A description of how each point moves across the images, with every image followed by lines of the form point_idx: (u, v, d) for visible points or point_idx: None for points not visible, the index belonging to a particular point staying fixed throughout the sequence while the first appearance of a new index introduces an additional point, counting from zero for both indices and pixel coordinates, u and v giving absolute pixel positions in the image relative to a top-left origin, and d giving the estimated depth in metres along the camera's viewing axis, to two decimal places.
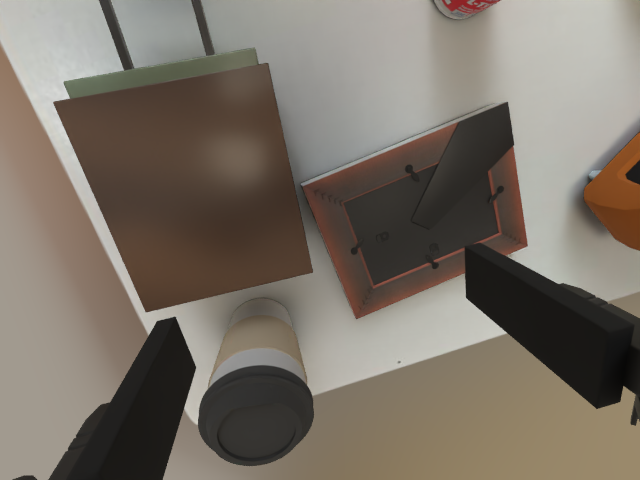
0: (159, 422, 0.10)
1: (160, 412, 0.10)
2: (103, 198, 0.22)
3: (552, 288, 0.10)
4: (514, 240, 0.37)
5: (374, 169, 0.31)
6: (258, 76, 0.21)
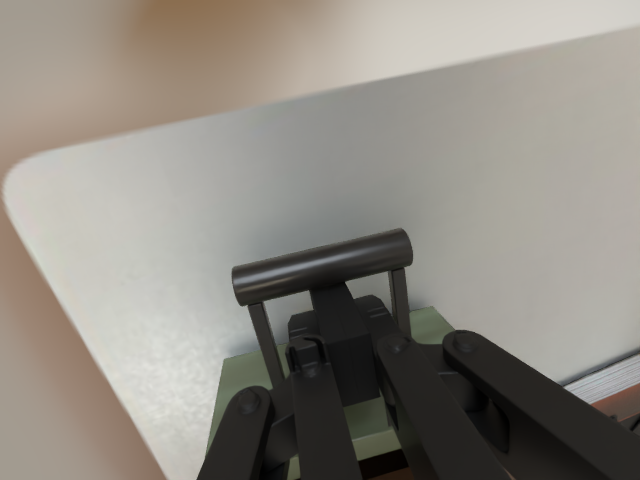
0: None
1: None
2: None
3: (344, 300, 0.12)
4: None
5: None
6: None
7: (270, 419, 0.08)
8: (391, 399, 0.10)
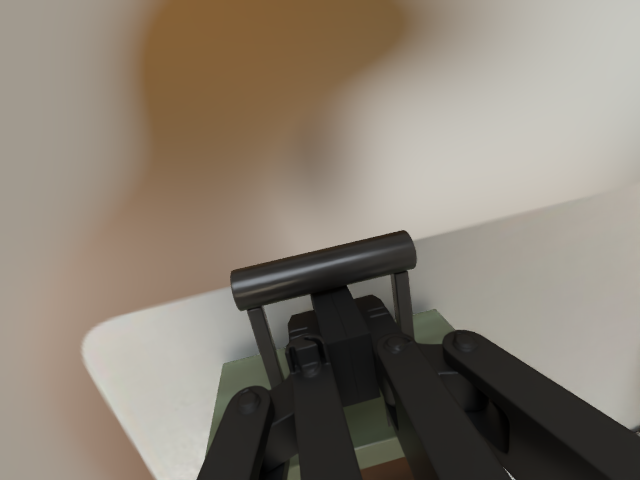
0: None
1: None
2: None
3: (344, 300, 0.12)
4: None
5: None
6: None
7: (270, 419, 0.08)
8: (391, 399, 0.10)
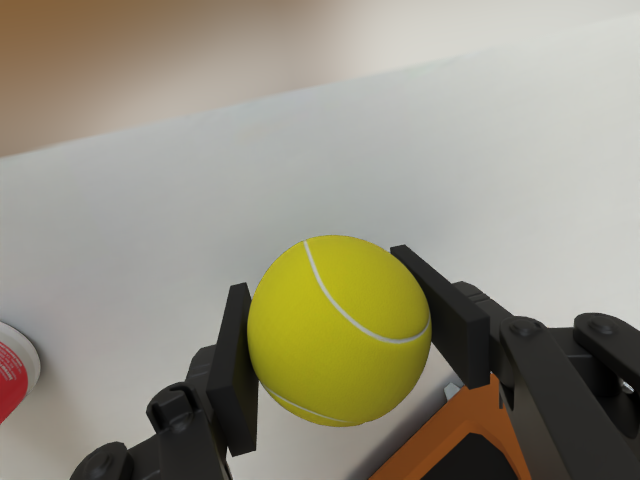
0: (250, 363, 0.12)
1: None
2: None
3: (442, 285, 0.12)
4: None
5: None
6: None
7: None
8: (508, 381, 0.09)
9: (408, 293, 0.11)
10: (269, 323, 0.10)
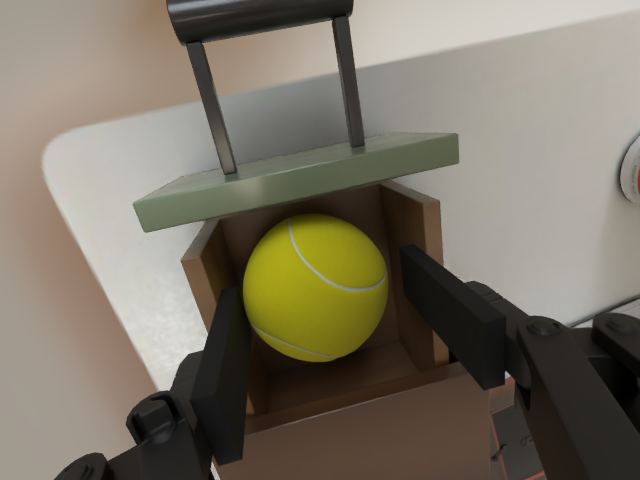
0: (239, 369, 0.12)
1: (238, 361, 0.12)
2: None
3: (455, 285, 0.12)
4: None
5: None
6: (474, 382, 0.16)
7: None
8: (525, 381, 0.09)
9: (363, 255, 0.14)
10: (256, 274, 0.14)
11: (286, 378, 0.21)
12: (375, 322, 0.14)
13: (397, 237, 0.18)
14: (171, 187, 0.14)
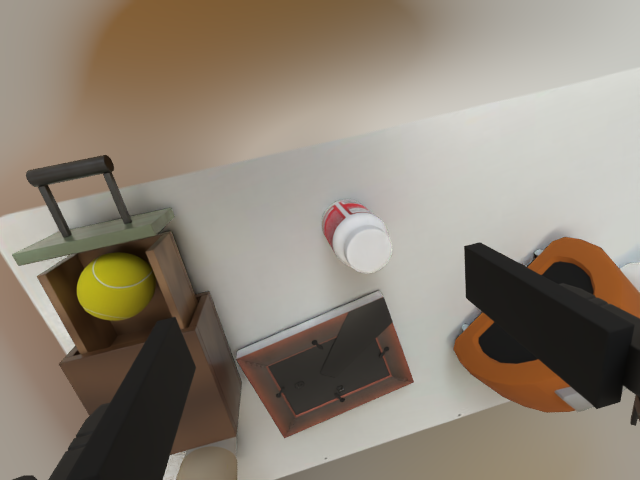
0: (159, 422, 0.10)
1: (160, 412, 0.10)
2: (91, 409, 0.35)
3: (552, 288, 0.10)
4: (402, 379, 0.49)
5: (288, 344, 0.44)
6: (189, 337, 0.34)
7: None
8: None
9: (126, 273, 0.32)
10: (78, 282, 0.31)
11: (125, 337, 0.39)
12: (136, 301, 0.32)
13: None
14: (37, 244, 0.31)
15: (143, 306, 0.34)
